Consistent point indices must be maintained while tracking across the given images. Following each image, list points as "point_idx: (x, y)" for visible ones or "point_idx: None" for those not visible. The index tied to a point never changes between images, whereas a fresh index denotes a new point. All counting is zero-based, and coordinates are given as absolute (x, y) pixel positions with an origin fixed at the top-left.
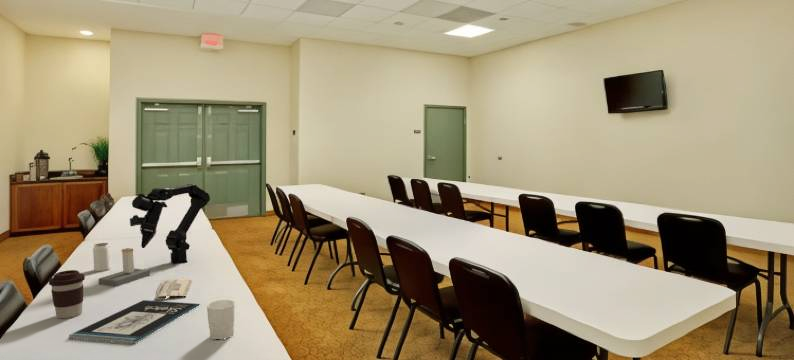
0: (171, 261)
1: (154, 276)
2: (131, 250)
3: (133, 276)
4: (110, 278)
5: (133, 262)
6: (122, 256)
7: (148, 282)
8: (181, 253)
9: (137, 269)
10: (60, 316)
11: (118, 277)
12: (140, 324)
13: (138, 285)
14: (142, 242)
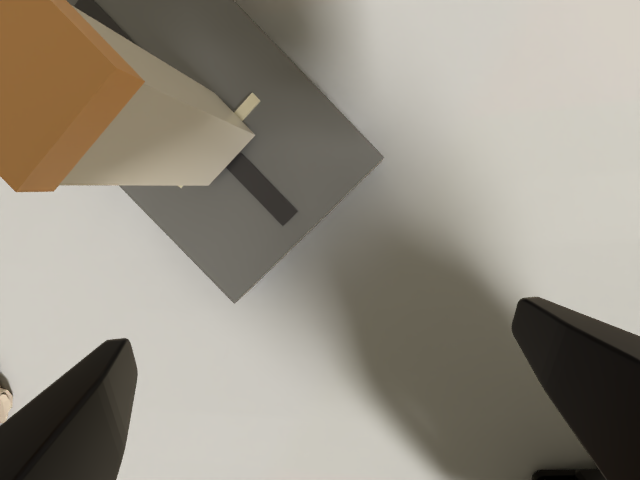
0: (578, 473)
1: (207, 324)
2: (8, 163)
3: (127, 186)
4: (81, 6)
5: (161, 184)
6: (112, 32)
7: (68, 286)
8: None
9: (307, 206)
10: None
11: None
12: None
13: (22, 226)
14: (43, 408)
